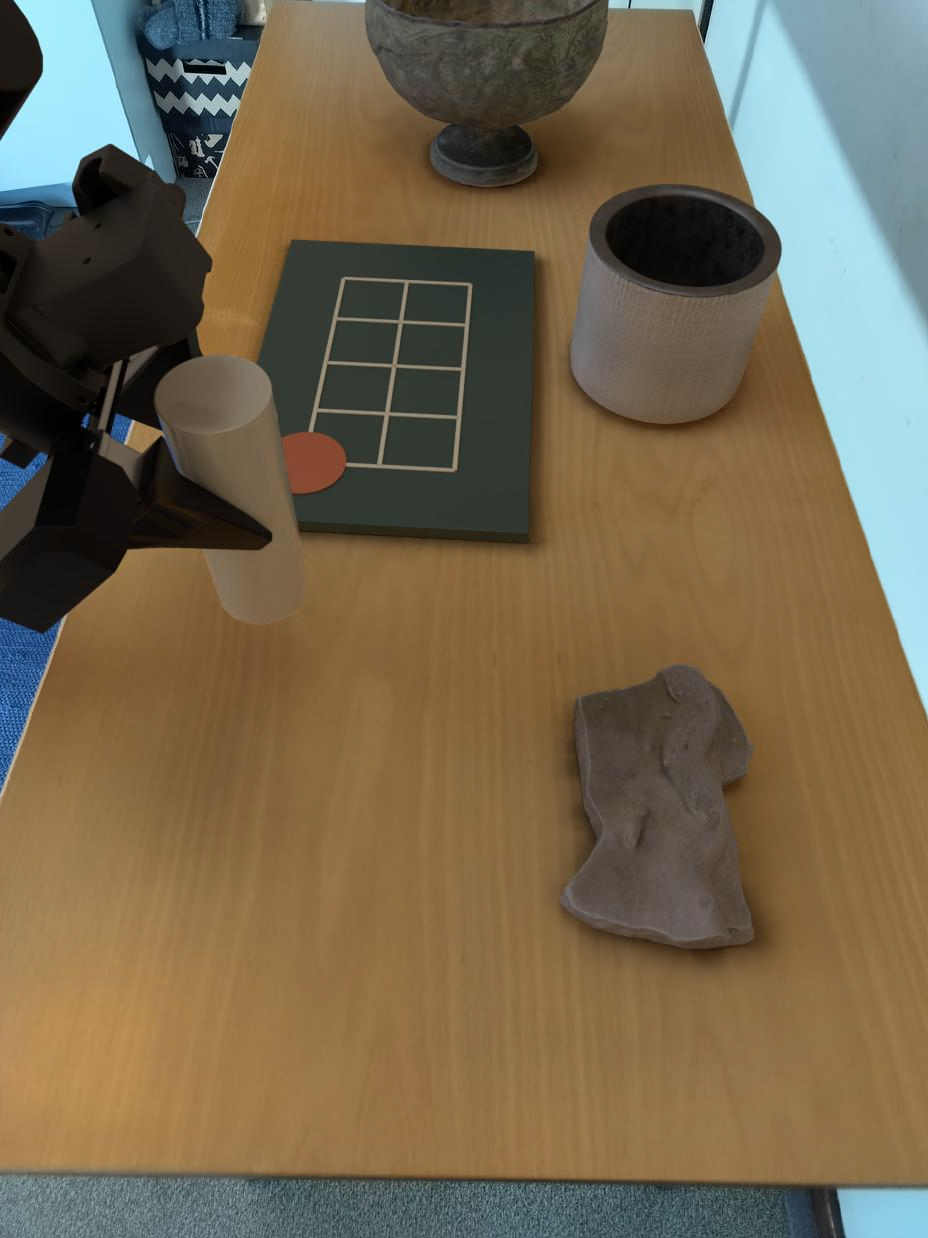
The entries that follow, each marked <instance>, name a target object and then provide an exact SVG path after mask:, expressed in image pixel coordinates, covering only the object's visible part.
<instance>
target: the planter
mask: <svg viewBox="0 0 928 1238" xmlns="http://www.w3.org/2000/svg"><path fill="white" fill-rule="evenodd" d="M782 253H783V244H782V240H781V237H780V235H779V232H778V230H777V229H776V227H775V226H774V224H773V223H772V222H771V221H770V219H768V218H767V216H766V215H765V214H763V213H762V212H761V211H759V210H758V209H756V208H755V207H754V206H753V205H751V204H750V203H748V202H746V201H745V200H742V199H741V198H738V197H736V196H734V195H732V194H728V193H726V192H723V191H720V190H717V189H713V188H709V187H706V186H700V185H693V184H684V183H656V184H649V185H648V184H647V185H643V186H637V187H634V188H630V189H628V190H625V191H622V192H620V193H618V194H616V195H614V196H612V197H611V198H608V199H607V200H606V201H605V202H603V203H602V205H600V206H599V207H598V208H597V210H595V212H594V214H593V216H592V218H591V220H590V223H589V227H588V234H587V242H586V248H585V253H584V254H585V255H584V262H583V269H582V273H581V281H580V286H579V293H578V300H577V306H576V311H575V317H574V324H573V330H572V337H571V344H570V353H569V355H570V367H571V371H572V374H573V377H574V379H575V380H576V382H577V384H578V385H579V387H580V388H581V389H582V390H583V392H584V393H585V394H586V395H587V396H588V397H589V398H590V399H592V400H593V401H594V402H596V404H598V405H600V406H602V407H603V408H605V409H606V410H608V411H610V412H612V413H615V414H616V415H619V416H621V417H624V418H627V419H630V420H633V421H638V422H641V423H647V424H660V425H661V424H662V425H663V424H665V425H672V424H673V425H674V424H683V423H690V422H693V421H697V420H701V419H704V418H706V417H708V416H710V415H712V414H715V413H716V412H718V411H720V410H721V409H723V408H724V406H726V405H727V404H728V403H730V401H731V400H732V399H733V397H734V396H735V394H736V392H737V390H738V389H739V387H740V385H741V382H742V380H743V377H744V374H745V372H746V371H745V370H746V367H747V364H748V361H749V359H750V356H751V352H752V349H753V345H754V342H755V340H756V337H757V333H758V329H759V327H760V323H761V321H762V317H763V314H764V311H765V308H766V305H767V302H768V298H769V295H770V293H771V289H772V287H773V284H774V280H775V277H776V274H777V271H778V269H779V266H780V263H781V258H782Z"/></svg>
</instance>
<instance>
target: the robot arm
mask: <svg viewBox="0 0 928 1238" xmlns="http://www.w3.org/2000/svg"><path fill="white" fill-rule="evenodd" d="M43 73H44V54H43V51H42V48H41V45H40V41H39V38H38V36H37V34H36V32H35V31H34V29H33V26H32V25H31V23H30V21H29V20H28V18H27V16H26V15H25V14H24V12H23V11H22V9H21V8H20V6H19V5H18V4H17V3H16V1H15V0H0V142H1V141H2V139H3V138H4V136H5V135H6V133H7V132H8V130H9V128H10V127H11V125H12V124H13V122H14V120H16V117H17V115H18V114H19V112H20V111H21V109H22V108H23V106H24V104H25V103H26V101H27V100H28V99H29V97H30V95H31V93H32V92H33V90H34V88H35V87H36V86H37V84H38V83H39V81H40V79H41V78H42V75H43ZM71 192H72V195H73V198H74V202H75V205H76V209H77V212H78V214H77V213H76V212H75V211H74V210H72V211H70V212H67V213H66V214H64V216H63V219H62V222H61V225H60V228H59V229H57V230H56V231H55V232H53V233H52V234H50V235H48V236H46V237H44V238H43V239H41V240H40V241H38V240H36V239H34V238H32V237H30V236H27V235H25V234H24V233H23V232H21V231H20V230H18V229H16V228H15V227H14V226H12V225H10V224H8V223H6V222H0V434H1V435H2V436H5V437H4V441H3V443H2V445H1V449H0V459H1V460H4V461H6V462H7V463H10V464H12V465H13V466H15V467H18V468H20V469H22V470H26V469H27V467H28V466H30V464H31V463H32V462H33V461H34V460H35V459H36V457H38V455H39V454H40V453H41V454H43V455H45V456H46V460H45V463H44V464H43V465H42V466H41V467H40V468H39V469H38V470H37V471H36V472H35V474H33V475H32V477H31V478H30V479H29V480H28V481H27V482H26V483H25V484H24V485H23V486H22V488H20V490H18V492H17V493H16V494H15V495H13V497H12V498H11V499H10V500H9V501H8V502H7V504H6V505H4V507H3V508H2V509H1V510H0V619H3V620H6V621H8V622H11V623H13V624H15V625H19V626H20V627H23V628H26V629H29V630H31V631H33V632H36V633H39V634H42V635H44V634H46V633H47V632H48V631H49V630H50V629H51V628H52V627H54V626H55V625H56V624H57V623H58V622H60V621H61V620H62V619H63V618H65V616H67V615H68V613H70V612H71V611H73V609H75V608H76V607H77V606H78V605H79V604H80V603H82V601H84V600H85V599H86V598H87V597H89V596H90V595H91V594H92V593H93V592H95V590H97V589H98V588H99V587H100V586H101V585H103V584H104V582H106V581H107V580H108V579H109V578H111V577H112V576H113V575H114V574H115V573H116V572H117V570H118V569H119V567H120V565H121V563H122V561H123V560H124V558H125V555H126V554H127V552H128V551H130V550H133V551H134V550H145V549H194V550H195V549H196V550H202V549H222V550H253V551H258V550H261V549H263V548H264V547H265V546H267V545H268V544H269V543H271V542H272V538H273V534H272V532H271V531H270V530H268V529H267V528H266V527H264V526H263V525H262V524H260V523H259V522H258V521H256V520H255V519H254V518H252V517H251V516H250V515H248V514H246V513H245V512H243V511H241V510H240V509H238V508H236V507H235V506H233V505H231V504H230V503H228V502H226V501H225V500H223V499H221V498H220V497H218V496H216V495H215V494H213V493H211V492H210V491H208V490H206V489H205V488H203V487H201V486H200V485H198V484H196V483H195V482H193V481H191V480H190V479H188V478H186V477H185V476H183V475H182V474H180V473H179V472H178V470H177V468H176V465H175V463H174V460H173V458H172V455H171V453H170V450H169V447H168V445H167V442H166V439H165V436H164V435H159V436H158V437H157V438H156V439H155V440H154V441H153V442H152V443H151V444H149V446H148V447H147V448H146V449H145V450H144V451H143V452H142V453H141V452H139V451H138V450H135V448H132V447H130V446H128V445H127V444H125V443H124V442H122V441H120V440H118V439H116V438H114V437H112V436H111V435H112V431H113V427H114V423H115V419H116V415H118V416H121V417H124V418H127V419H130V420H132V421H135V422H137V423H139V424H142V425H144V426H147V427H150V428H153V429H155V430H157V431H161V432H163V430H162V427H161V424H160V421H159V418H158V415H157V412H156V409H155V406H154V393H155V390H156V387H157V385H158V383H159V382H160V380H161V379H162V378H163V377H164V376H165V375H166V374H167V373H168V372H169V371H170V370H171V369H173V368H174V367H176V366H178V365H179V364H181V363H183V362H186V361H188V360H191V359H194V358H197V357H201V356H204V354H203V352H202V350H201V347H200V342H199V336H198V330H197V328H198V326H199V325H200V323H201V322H202V319H203V317H204V312H205V302H204V300H203V294H204V289H205V283H206V278H207V274H209V273H211V272H212V269H213V261H214V260H213V258H212V257H211V255H210V254H209V252H208V251H207V249H205V247H204V246H203V244H202V243H201V241H200V240H199V239H198V238H197V237H196V235H195V234H194V232H193V231H192V229H191V228H190V227H189V226H188V224H187V223H186V222H185V221H184V219H183V218H184V213H185V209H186V204H187V200H188V199H187V194H186V193H187V192H186V191H185V190H184V189H183V188H182V187H181V186H180V185H178V184H177V183H173V182H168V183H167V182H165V181H164V180H163V178H162V177H161V176H160V175H159V173H158V172H157V170H155V169H153V168H151V167H149V166H148V165H146V164H145V163H143V162H142V161H140V160H139V159H136V158H135V157H133V155H131V154H129V153H127V152H125V151H124V150H122V149H121V148H119V147H118V146H116V145H115V144H113V143H108V144H106V145H104V146H102V147H100V148H98V149H96V150H94V151H92V152H91V153H88V154H87V155H85V156H83V157H82V158H80V160H79V163H78V166H77V169H76V171H75V174H74V177H73V179H72V182H71ZM78 215H79V216H78ZM87 415H88V420H87V424H86V427H84V426H83V425H84V423H85V422H84V419H85V418H86V416H87Z"/></svg>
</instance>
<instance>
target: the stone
mask: <svg viewBox="0 0 928 1238" xmlns="http://www.w3.org/2000/svg"><path fill="white" fill-rule="evenodd" d="M573 722H574V723H573V731H574V732H573V735H574V741H575V745H576V746H575V747H576V749H575V751H576V757H577V761H578V768H579V775H580V784H581V785H580V786H581V792H582V797H583V803H582V804H583V809H584V813H585V815H587V817H588V819H589V823H590V826H591V828H592V831H593V833H594V835H595V837H596V841H595V845H594V847H593V850H592V851H591V853H590V855H589V857H588V858H587V860H586V861H585V862H584V864H582V866H581V867H580V869H579V870H578V871H577V873H576V874H575V875H574V876H573V878H571V880H570V881H569V882H568V883H567V885H565V887H564V890H563V892H562V894H561V896H560V898H559V901H560V903H561V905H562V907H563V908H564V910H565V911H567V913H570V914H571V915H573V916H574V917H576V918H577V919H578V920H580V921H581V922H583V923H585V924H586V925H588V926H590V927H591V928H593V929H595V930H596V929H597V930H601V931H603V932H606V933H610V934H614V935H615V934H616V935H620V936H621V935H622V936H624V937H627V938H638V939H648V940H650V941H652V942H654V943H658V944H664V945H671V946H674V947H677V948H681V949H704V950H705V949H712V948H713V949H714V948H723V947H728V946H743V945H746V944H749V943H750V942H751V941H753V939H754V938H755V929H754V926H753V922H752V915H751V912H750V909H749V906H748V904H747V901H746V899H745V895H744V891H743V886H742V882H741V881H742V880H741V874H740V868H739V866H738V862H739V857H740V855H739V846H738V842H737V838H736V836H735V833H734V830H733V826H732V821H731V813H730V812H731V811H730V808H729V805H728V802H727V800H726V798H725V796H724V790H723V789H724V788H725V787H726V786H728V785H730V784H732V783H735V782H736V781H738V780H741V779H743V778H745V777H746V776H747V775H748V773H749V772H750V770H749V761H751V760H752V758H753V755H754V754H755V745H754V744H753V742H752V740H751V738H750V737H749V735H748V733H747V731H746V729H745V727H744V725H743V723H742V721H741V720H740V718H739V716H738V714H737V712H736V711H735V708H734V707H733V706H732V704H731V703H730V701H729V700H728V698H727V696H726V695H725V693H724V691H723V690H722V689H721V688H720V687H718V686H716V685H715V684H713V682H711V681H710V680H708V679H707V678H706V677H705V676H704V674H703V672H701V670H700V669H699V668H697V667H695V666H692V665H689V664H687V663H677V664H676V663H675V664H674V663H673V664H672V665H669V666H666V667H664V668H661V669H659V670H658V671H657V672H656V673H655V675H654V676H653V677H652V678H649V679H647V680H646V681H644V682H641V683H638V684H635V685H631V686H628V687H623V688H615V689H606V690H600V691H595V692H590V693H587V694H585V693H584V694H580V695H578V696H577V698H576V699H575V701H574V704H573Z"/></svg>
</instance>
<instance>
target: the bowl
mask: <svg viewBox="0 0 928 1238" xmlns="http://www.w3.org/2000/svg"><path fill="white" fill-rule="evenodd" d="M609 4H610V0H365V2H364V24H365V25H364V26H365V34H366V38H367V40H368V44H369V47H370V50H371V51H372V53H373V54H374V55H375V57H376V59H377V61H378V63H379V65H380V67H381V70H382V72H383V74H384V76H385V79H386V80H387V81H388V83H389V84H390V86H391V87H392V89H393V90H394V92H396V94H397V95H398V96H399V97H401V98H402V99H403V100H404V101H405V102H406V103H408V104H409V105H410V106H411V107H412V108H413V109H414V110H416V111H417V112H419V113H420V114H422V115H424V116H425V117H427V118H429V119H432V120H435V121H438V122H441V123H444V124H449V125H446V126H445V127H444V128H442V129H441V130H439V132H438V133H437V134H436V136H435V137H434V138H433V140H432V142H431V145H430V151H429V154H430V155H429V159H430V162H431V165H432V166H433V168H434V169H435V171H437V173H439V175H441V176H443V177H445V178H446V179H449V180H451V181H452V182H455V183H458V184H462V185H468V186H471V187H472V186H473V187H480V188H495V187H503V186H507V185H514V184H517V183H519V182H521V181H523V180H524V179H527V178H528V177H529V176H531V175H532V174H533V173H534V172H535V171H536V168H537V166H538V161H539V154H538V150H537V147H536V144H535V142H534V141H533V139H532V137H531V136H530V135H529V133H528V132H527V131H526V130H524V129H523V128H522V127H520V126H521V125H523V124H527V123H531V122H534V121H538V120H540V119H542V118H543V117H544V118H545V117H546V116H548V115H551V114H553V113H555V112H558V111H559V110H560V109H562V108H563V107H564V106H565V105H566V104H568V103H570V102H571V100H572V99H573V97H575V95H576V94H577V93H578V92H579V90H580V89H581V88H582V87H583V86H584V84H585V83H586V81H587V80H588V77H589V76H590V75H591V73H592V71H593V69H594V67H595V65H596V64H597V62H598V61H599V59H600V56H601V54H602V51H603V49H604V42H605V38H606V35H607V30H608V25H609V23H608V22H609V21H608V13H609Z"/></svg>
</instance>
